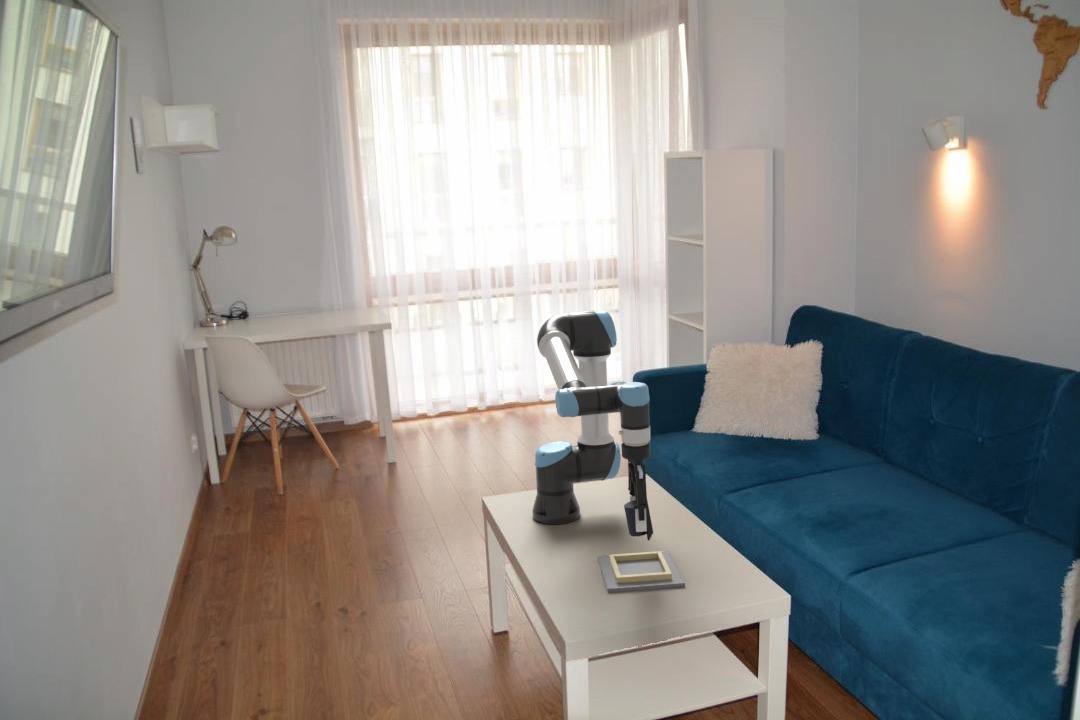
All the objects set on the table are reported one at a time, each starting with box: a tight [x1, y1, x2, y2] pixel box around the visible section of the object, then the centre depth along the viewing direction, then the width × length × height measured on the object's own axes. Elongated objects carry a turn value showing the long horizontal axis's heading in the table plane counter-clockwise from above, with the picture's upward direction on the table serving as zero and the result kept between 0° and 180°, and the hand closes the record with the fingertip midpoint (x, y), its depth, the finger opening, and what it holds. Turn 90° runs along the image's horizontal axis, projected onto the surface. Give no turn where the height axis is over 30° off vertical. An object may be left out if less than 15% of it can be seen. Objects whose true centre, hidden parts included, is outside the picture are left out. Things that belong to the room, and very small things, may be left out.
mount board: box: [597, 550, 686, 593], centre depth 231 cm, size 20×20×2 cm
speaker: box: [623, 500, 654, 541], centre depth 228 cm, size 8×6×10 cm
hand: (638, 525), depth 228 cm, fingers closed on speaker, 8 cm apart
